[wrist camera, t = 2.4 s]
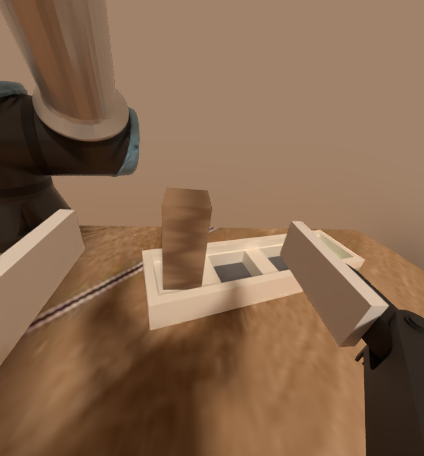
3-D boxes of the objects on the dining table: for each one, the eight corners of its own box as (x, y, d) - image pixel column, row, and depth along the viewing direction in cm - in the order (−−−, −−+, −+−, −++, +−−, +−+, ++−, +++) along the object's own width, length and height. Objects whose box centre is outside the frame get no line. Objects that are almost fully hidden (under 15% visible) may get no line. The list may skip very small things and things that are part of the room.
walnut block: (162, 289, 25) (161, 205, 19) (166, 263, 30) (166, 187, 24) (201, 289, 26) (212, 208, 20) (199, 264, 30) (207, 190, 24)
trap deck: (150, 330, 24) (148, 306, 21) (143, 272, 32) (142, 250, 29) (352, 278, 37) (364, 260, 34) (312, 246, 44) (320, 230, 42)
